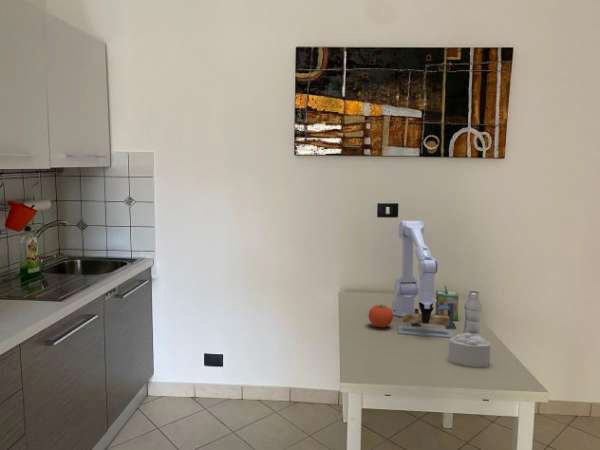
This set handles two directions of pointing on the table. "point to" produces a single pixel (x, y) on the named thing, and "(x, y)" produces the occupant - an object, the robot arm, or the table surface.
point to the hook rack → (451, 325)
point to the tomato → (380, 315)
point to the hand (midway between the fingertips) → (425, 321)
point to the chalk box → (447, 303)
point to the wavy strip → (433, 319)
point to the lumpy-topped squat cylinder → (469, 350)
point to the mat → (424, 332)
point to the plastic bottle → (472, 314)
